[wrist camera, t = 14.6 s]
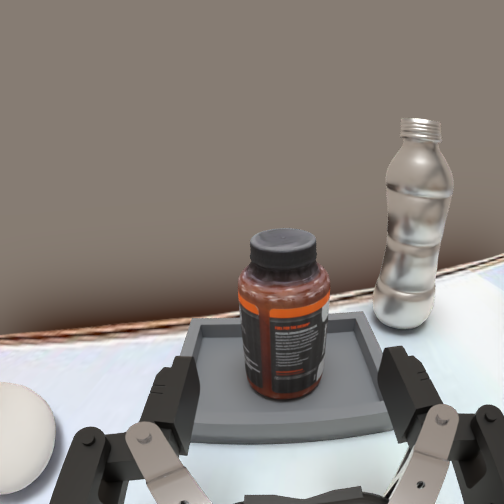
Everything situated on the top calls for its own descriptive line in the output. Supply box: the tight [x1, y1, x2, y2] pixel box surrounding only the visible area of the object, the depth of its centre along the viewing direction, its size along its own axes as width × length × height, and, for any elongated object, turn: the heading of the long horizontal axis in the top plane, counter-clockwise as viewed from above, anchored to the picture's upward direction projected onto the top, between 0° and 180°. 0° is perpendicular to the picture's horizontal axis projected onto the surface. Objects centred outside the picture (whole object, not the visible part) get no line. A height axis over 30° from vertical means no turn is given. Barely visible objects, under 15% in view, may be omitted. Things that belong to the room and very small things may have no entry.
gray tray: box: [180, 311, 394, 444], centre depth 23 cm, size 16×12×2 cm
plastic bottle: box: [373, 118, 454, 329], centre depth 26 cm, size 6×7×20 cm
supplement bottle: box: [238, 228, 330, 400], centre depth 21 cm, size 6×6×11 cm
